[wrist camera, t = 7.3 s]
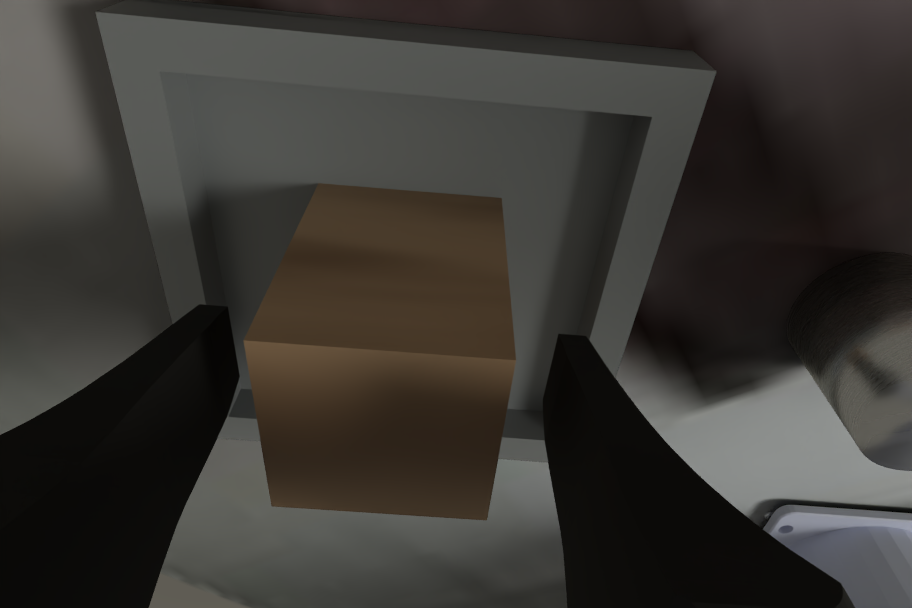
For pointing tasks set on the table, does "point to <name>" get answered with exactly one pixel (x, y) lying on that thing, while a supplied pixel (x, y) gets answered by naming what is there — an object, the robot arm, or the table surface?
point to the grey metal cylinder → (862, 350)
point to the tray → (404, 159)
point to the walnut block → (386, 354)
